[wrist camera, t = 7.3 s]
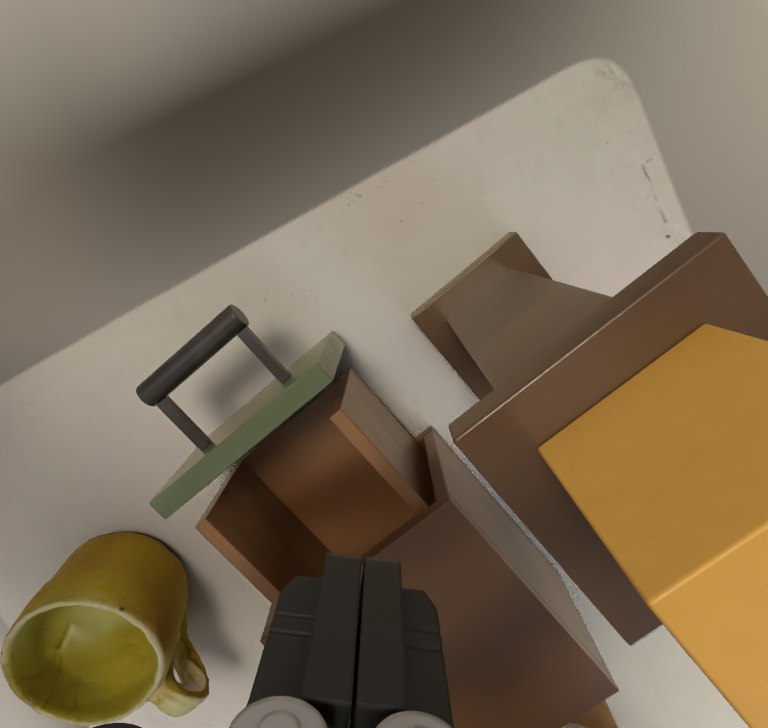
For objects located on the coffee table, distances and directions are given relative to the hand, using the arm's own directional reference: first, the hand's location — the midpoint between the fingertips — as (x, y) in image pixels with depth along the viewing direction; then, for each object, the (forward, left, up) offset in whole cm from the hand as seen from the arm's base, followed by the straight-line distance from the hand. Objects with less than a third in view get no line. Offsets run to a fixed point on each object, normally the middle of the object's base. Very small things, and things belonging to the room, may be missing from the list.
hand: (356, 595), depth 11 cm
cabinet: (+14, -7, -25) cm, 30 cm away
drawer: (+2, -7, -24) cm, 26 cm away
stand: (+4, +7, -25) cm, 27 cm away
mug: (+4, -24, -26) cm, 35 cm away
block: (+4, +7, -3) cm, 9 cm away
